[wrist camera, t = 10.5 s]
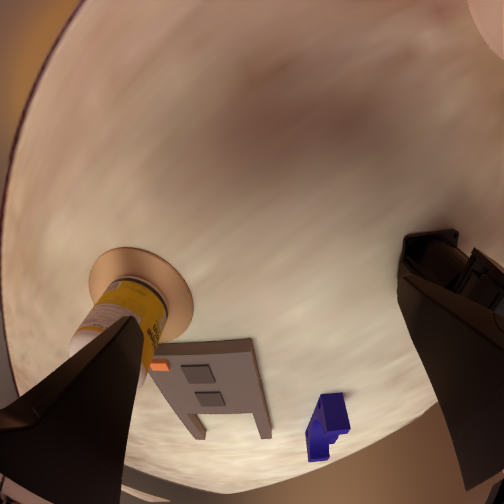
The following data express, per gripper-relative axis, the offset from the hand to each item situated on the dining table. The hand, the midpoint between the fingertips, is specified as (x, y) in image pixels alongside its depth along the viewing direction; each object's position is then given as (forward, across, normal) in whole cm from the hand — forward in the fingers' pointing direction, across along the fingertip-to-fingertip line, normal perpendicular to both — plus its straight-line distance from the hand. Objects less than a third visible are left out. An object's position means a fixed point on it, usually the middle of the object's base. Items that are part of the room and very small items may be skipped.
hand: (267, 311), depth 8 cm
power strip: (+13, +9, +24) cm, 29 cm away
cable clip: (+13, -5, +32) cm, 35 cm away
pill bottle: (+13, +13, +8) cm, 20 cm away
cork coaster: (+13, +13, +8) cm, 20 cm away
